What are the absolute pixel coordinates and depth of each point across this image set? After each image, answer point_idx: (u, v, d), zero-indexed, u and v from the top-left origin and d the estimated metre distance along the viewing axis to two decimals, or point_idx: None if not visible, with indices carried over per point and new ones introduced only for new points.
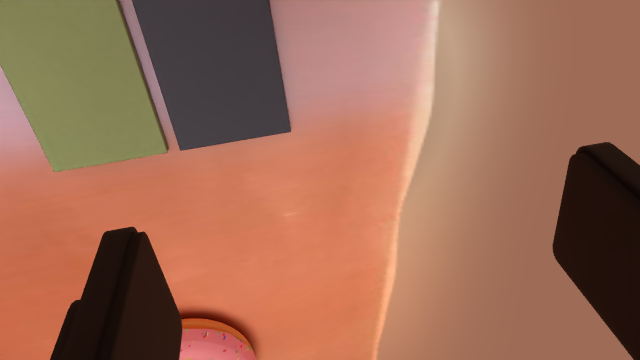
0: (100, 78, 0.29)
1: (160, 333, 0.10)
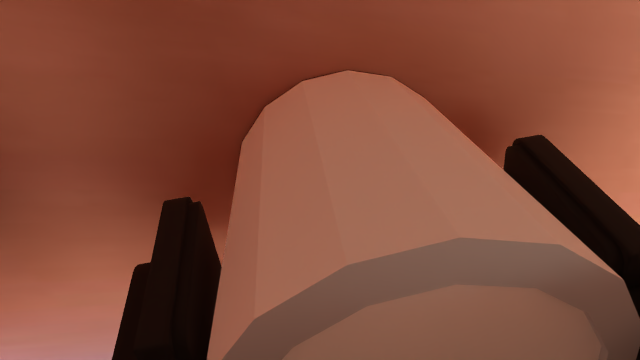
0: None
1: (215, 296, 0.10)
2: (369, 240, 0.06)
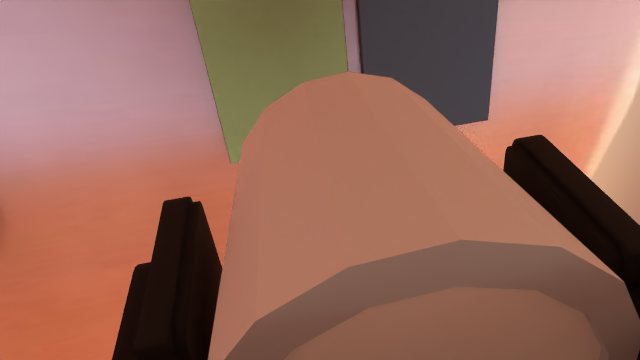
0: (303, 58, 0.26)
1: (216, 296, 0.10)
2: (370, 242, 0.06)
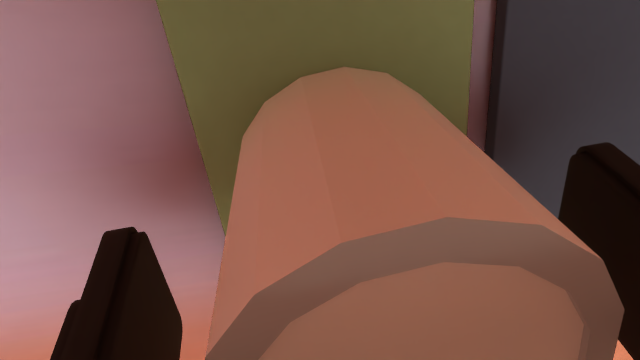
0: None
1: (160, 333, 0.10)
2: (362, 221, 0.06)
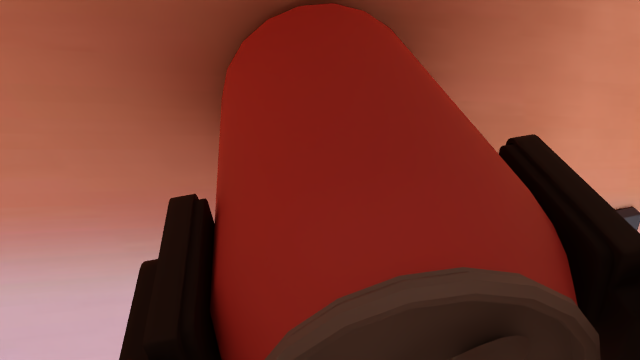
0: None
1: None
2: None
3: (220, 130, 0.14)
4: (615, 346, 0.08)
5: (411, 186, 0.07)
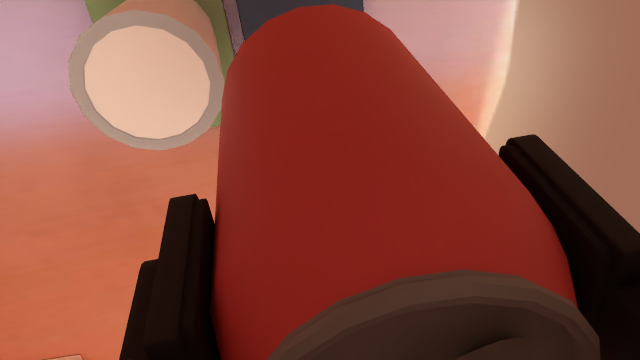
0: None
1: None
2: (112, 13, 0.21)
3: (220, 131, 0.14)
4: (615, 346, 0.08)
5: (411, 188, 0.07)
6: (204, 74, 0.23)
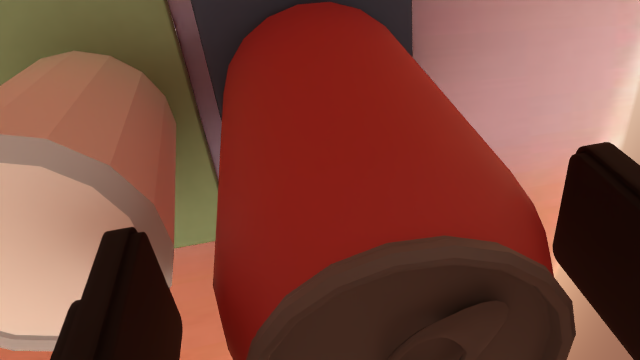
0: None
1: (160, 333, 0.10)
2: None
3: (222, 123, 0.15)
4: None
5: (398, 164, 0.08)
6: None
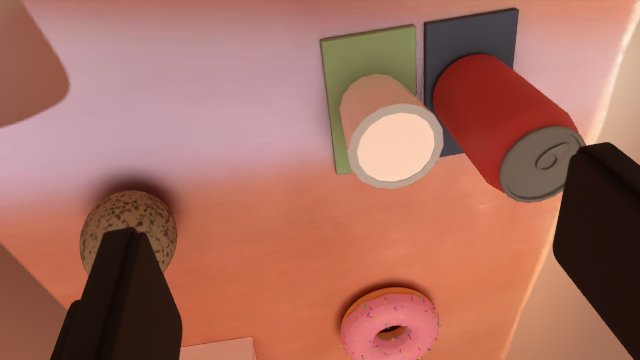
0: None
1: (160, 333, 0.10)
2: (384, 104, 0.33)
3: (444, 103, 0.38)
4: None
5: (541, 109, 0.31)
6: (432, 140, 0.35)
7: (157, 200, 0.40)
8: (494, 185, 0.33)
